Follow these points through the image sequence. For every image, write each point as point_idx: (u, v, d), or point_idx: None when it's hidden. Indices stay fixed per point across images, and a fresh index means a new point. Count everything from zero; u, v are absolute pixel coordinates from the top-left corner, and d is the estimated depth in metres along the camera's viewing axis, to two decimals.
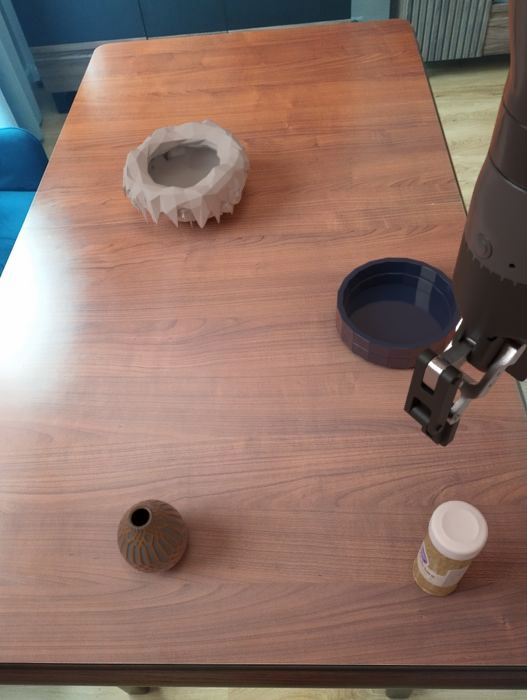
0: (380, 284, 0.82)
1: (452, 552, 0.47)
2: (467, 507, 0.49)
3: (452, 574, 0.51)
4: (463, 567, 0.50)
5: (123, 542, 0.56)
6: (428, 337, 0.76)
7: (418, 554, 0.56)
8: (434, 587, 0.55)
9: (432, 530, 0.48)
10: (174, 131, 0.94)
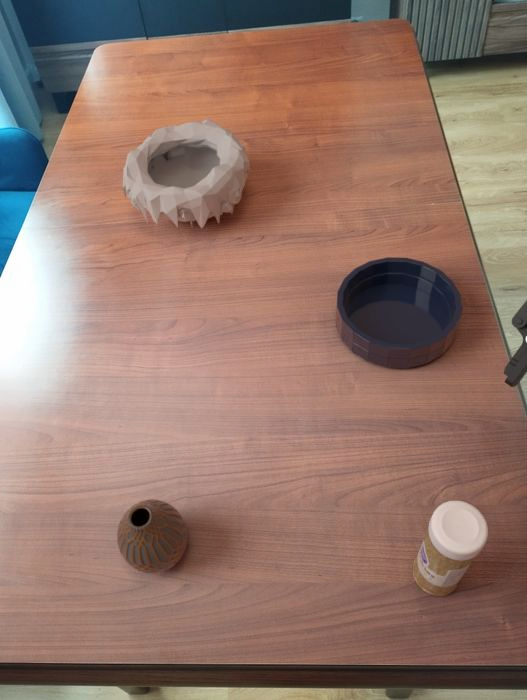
0: (380, 284, 0.82)
1: (452, 552, 0.47)
2: (467, 507, 0.49)
3: (452, 574, 0.51)
4: (463, 567, 0.50)
5: (123, 542, 0.56)
6: (428, 337, 0.76)
7: (418, 554, 0.56)
8: (434, 587, 0.55)
9: (432, 530, 0.48)
10: (174, 131, 0.94)
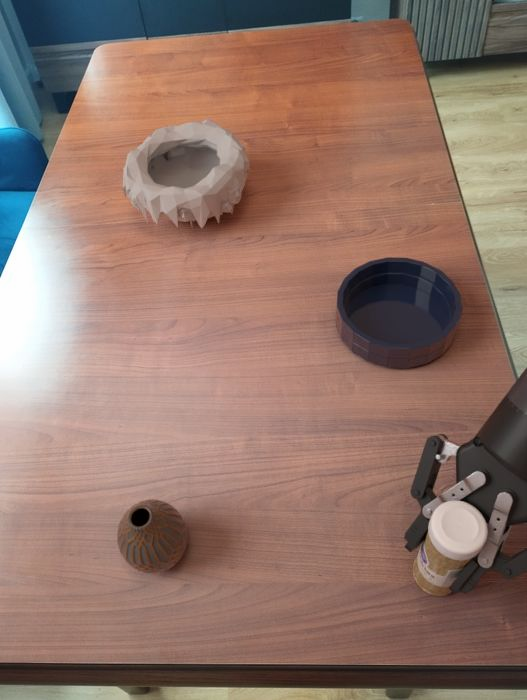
0: (380, 284, 0.82)
1: (452, 552, 0.47)
2: (467, 507, 0.49)
3: (452, 574, 0.51)
4: (463, 567, 0.50)
5: (123, 542, 0.56)
6: (428, 337, 0.76)
7: (418, 554, 0.56)
8: (434, 587, 0.55)
9: (431, 530, 0.48)
10: (174, 131, 0.94)
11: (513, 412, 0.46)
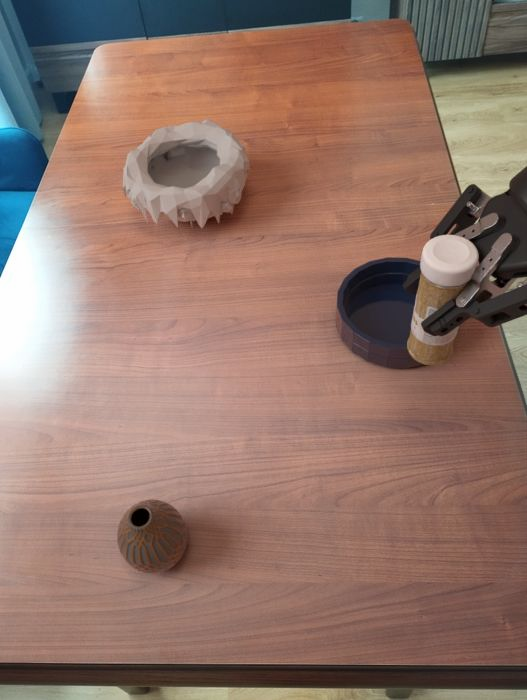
0: (380, 284, 0.82)
1: (430, 266, 0.48)
2: (468, 243, 0.49)
3: None
4: None
5: (123, 542, 0.56)
6: None
7: None
8: (417, 344, 0.56)
9: (423, 248, 0.49)
10: (174, 131, 0.94)
11: None
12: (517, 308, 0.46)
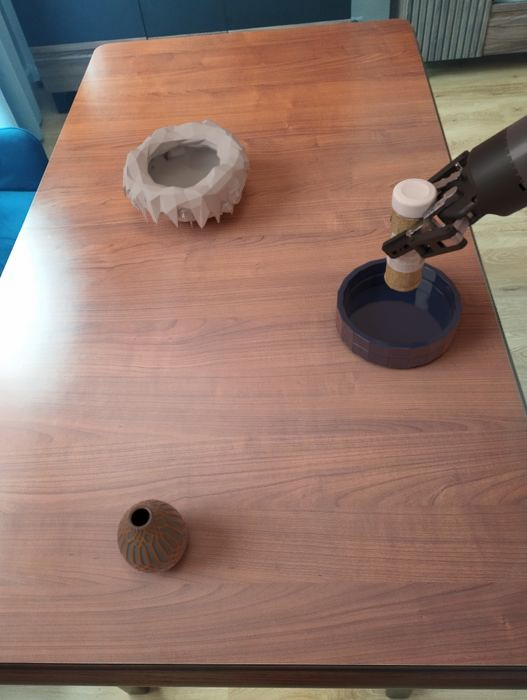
0: (380, 284, 0.82)
1: (393, 195, 0.61)
2: (432, 189, 0.61)
3: None
4: None
5: (123, 542, 0.56)
6: (428, 337, 0.76)
7: None
8: (387, 268, 0.70)
9: (399, 183, 0.62)
10: (174, 131, 0.94)
11: None
12: (436, 243, 0.58)
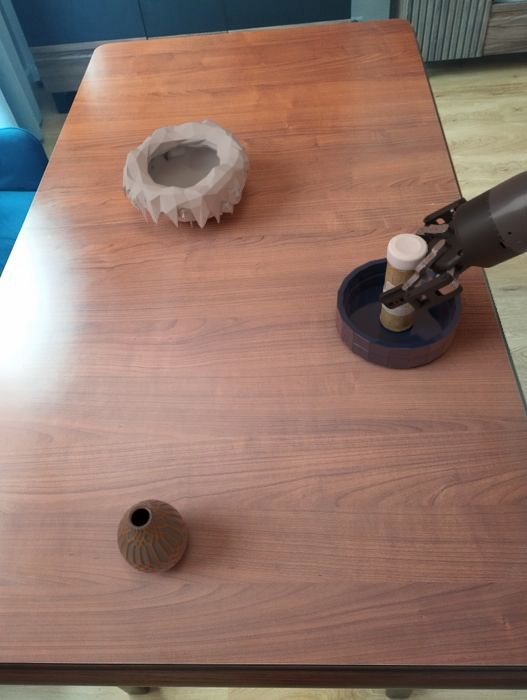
0: (380, 284, 0.82)
1: (388, 250, 0.67)
2: (423, 244, 0.67)
3: (388, 289, 0.71)
4: (394, 285, 0.70)
5: (123, 542, 0.56)
6: (428, 337, 0.76)
7: None
8: (382, 310, 0.76)
9: (394, 237, 0.69)
10: (174, 131, 0.94)
11: None
12: (434, 293, 0.62)
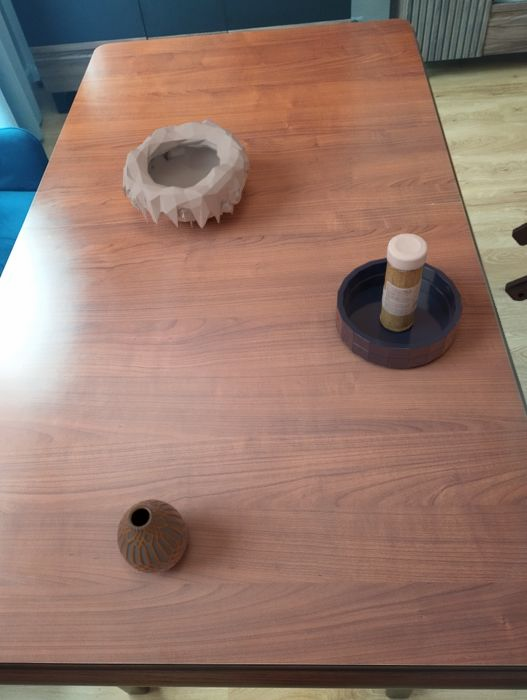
0: (380, 284, 0.82)
1: (388, 250, 0.67)
2: (423, 244, 0.67)
3: (388, 289, 0.71)
4: (394, 285, 0.70)
5: (123, 542, 0.56)
6: (428, 337, 0.76)
7: None
8: (382, 310, 0.76)
9: (394, 237, 0.69)
10: (174, 131, 0.94)
11: None
12: None
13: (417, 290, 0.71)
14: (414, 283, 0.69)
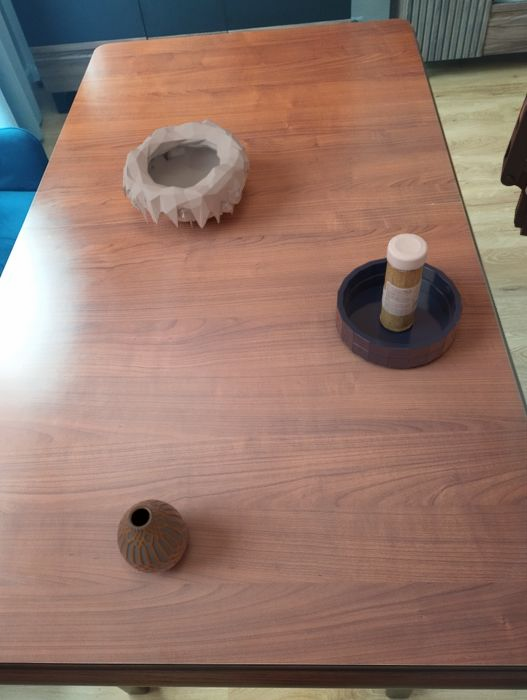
0: (380, 284, 0.82)
1: (388, 250, 0.67)
2: (423, 244, 0.67)
3: (388, 289, 0.71)
4: (394, 285, 0.70)
5: (123, 542, 0.56)
6: (428, 337, 0.76)
7: None
8: (382, 310, 0.76)
9: (394, 237, 0.69)
10: (174, 131, 0.94)
11: None
12: None
13: (417, 290, 0.71)
14: (414, 283, 0.69)
